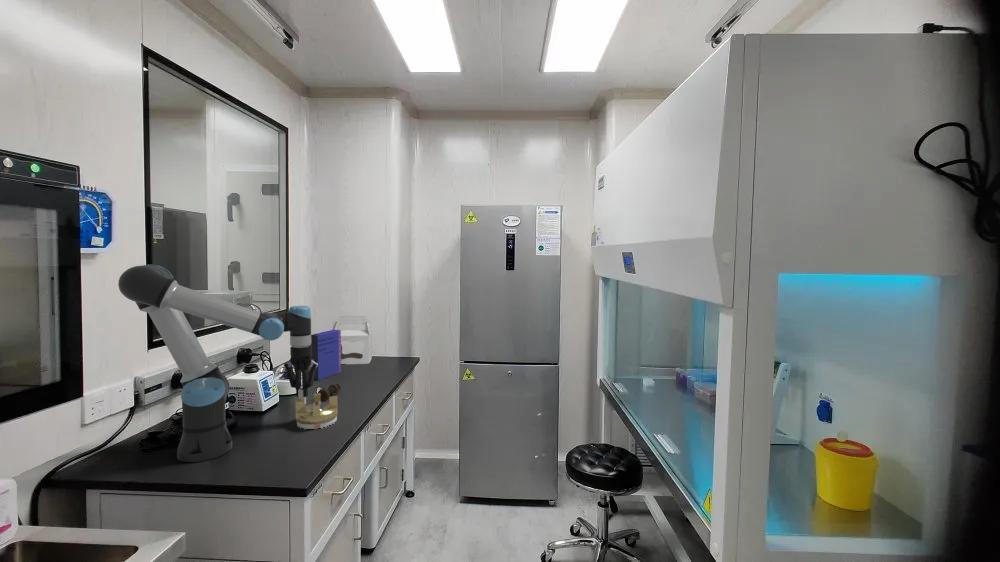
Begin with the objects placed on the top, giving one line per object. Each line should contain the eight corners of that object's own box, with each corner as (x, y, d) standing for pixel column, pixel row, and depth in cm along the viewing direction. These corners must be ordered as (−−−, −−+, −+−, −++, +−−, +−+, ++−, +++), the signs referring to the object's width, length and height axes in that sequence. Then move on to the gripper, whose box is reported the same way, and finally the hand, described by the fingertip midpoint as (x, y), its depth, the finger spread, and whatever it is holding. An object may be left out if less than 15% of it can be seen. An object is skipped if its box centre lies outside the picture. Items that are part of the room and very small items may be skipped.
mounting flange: (311, 432, 158) (311, 427, 158) (289, 424, 166) (289, 418, 166) (344, 420, 170) (344, 415, 170) (322, 412, 178) (322, 408, 178)
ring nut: (339, 420, 165) (339, 402, 164) (295, 426, 158) (295, 407, 158) (336, 407, 178) (336, 390, 178) (296, 412, 172) (295, 395, 171)
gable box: (372, 358, 272) (371, 314, 270) (369, 363, 259) (369, 317, 257) (335, 359, 268) (334, 315, 266) (330, 365, 255) (330, 318, 253)
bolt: (339, 394, 208) (323, 404, 193) (330, 389, 208) (314, 398, 193) (345, 384, 207) (330, 393, 192) (336, 379, 208) (320, 387, 193)
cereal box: (334, 371, 241) (333, 329, 240) (341, 372, 239) (340, 329, 238) (311, 380, 225) (310, 334, 223) (318, 381, 223) (317, 335, 222)
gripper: (321, 343, 171) (323, 401, 172) (289, 343, 171) (290, 401, 173) (313, 348, 163) (314, 408, 165) (279, 347, 163) (280, 407, 165)
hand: (302, 404), depth 169 cm, fingers closed
